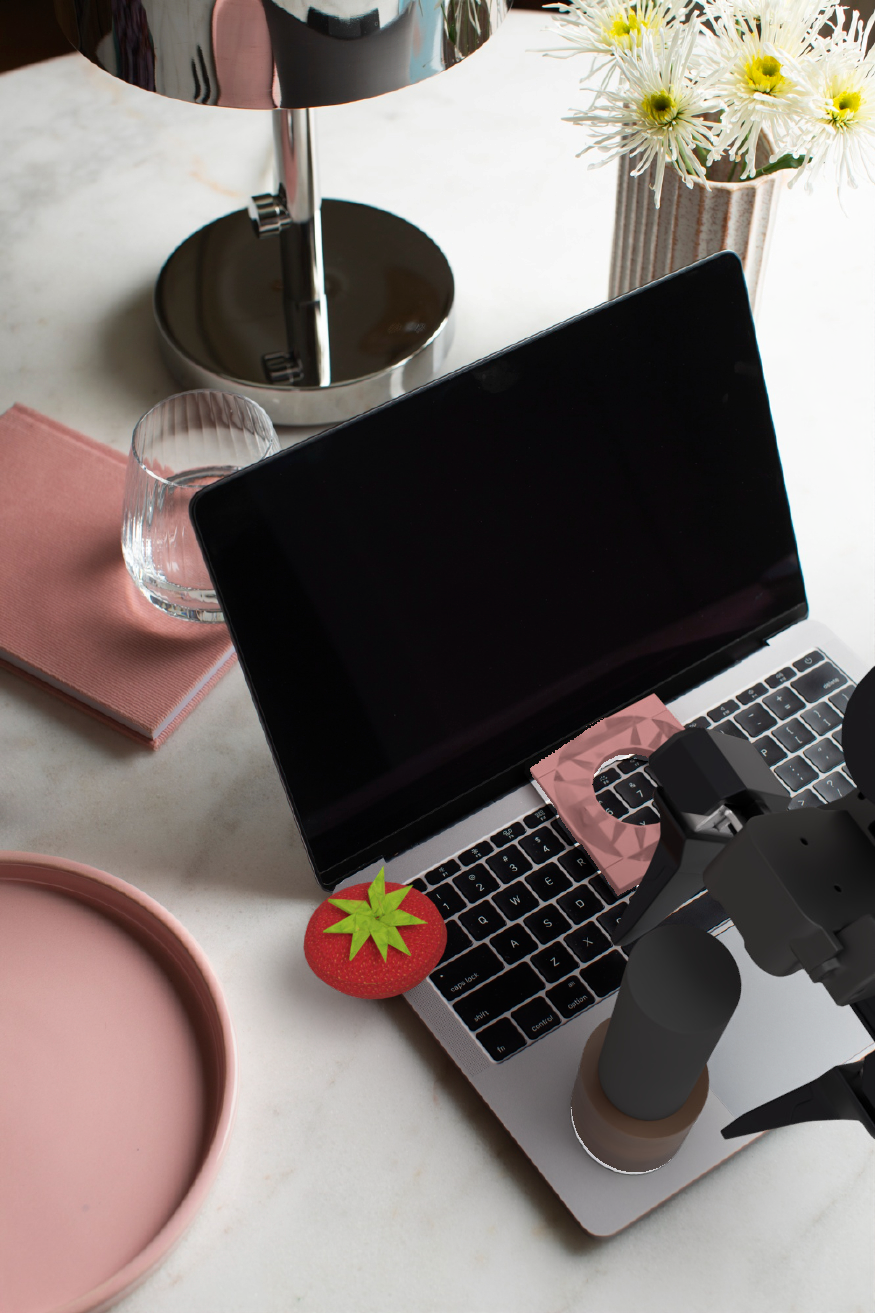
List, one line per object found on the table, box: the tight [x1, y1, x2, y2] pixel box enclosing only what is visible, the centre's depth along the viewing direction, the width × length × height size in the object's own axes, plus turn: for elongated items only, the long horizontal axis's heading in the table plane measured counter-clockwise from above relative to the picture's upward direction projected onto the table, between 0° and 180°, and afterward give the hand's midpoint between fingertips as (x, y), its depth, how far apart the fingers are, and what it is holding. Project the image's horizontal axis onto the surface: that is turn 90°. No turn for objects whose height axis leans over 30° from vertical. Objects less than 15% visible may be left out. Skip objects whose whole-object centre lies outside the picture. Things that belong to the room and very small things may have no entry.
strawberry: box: [302, 865, 448, 1000], centre depth 60 cm, size 6×8×10 cm
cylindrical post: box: [598, 923, 742, 1121], centre depth 48 cm, size 4×4×12 cm
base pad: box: [530, 693, 686, 896], centre depth 69 cm, size 10×10×2 cm
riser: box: [570, 1016, 710, 1172], centre depth 56 cm, size 6×6×7 cm
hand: (668, 1034), depth 50 cm, fingers open, 9 cm apart
